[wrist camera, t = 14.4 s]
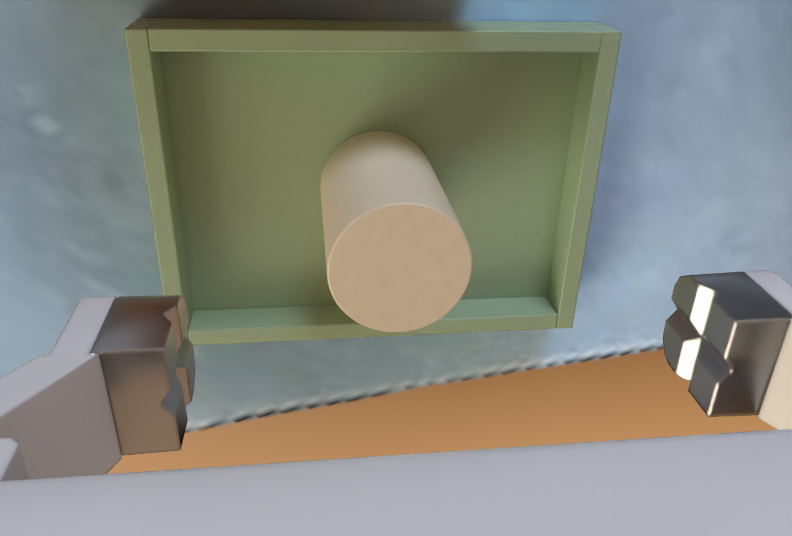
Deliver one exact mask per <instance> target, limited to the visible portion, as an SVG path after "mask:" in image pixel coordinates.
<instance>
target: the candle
mask: <svg viewBox="0 0 792 536" xmlns="http://www.w3.org/2000/svg"><path fill="white" fill-rule="evenodd" d="M320 191H321V204H322V217H323V230H324V243H325V256H326V269H327V280H328V285H329V288H330V291H331V294H332V296H333V298H334V300H335V301H336V303H337V304H338V306H339V307H340V308H341V309H342V311H343V312H345V313H346V314H347V315H348V316H349V317H350V318H352V319H353V320H355V321H356V322H358V323H360V324H362V325H363V326H366V327H369V328H371V329H375V330H379V331H385V332H405V331H411V330H416V329H419V328H422V327H425V326H427V325H429V324H432V323H434V322H435V321H437V320H439V319H440V318H442V317H443V316H444V315H446V314H447V313H448V312H449V311H450V310H451V309H452V308H454V307H455V305H456V304H457V303H458V302H459V300H460V299H461V297H462V296H463V294H464V293H465V290H466V288H467V286H468V284H469V280H470V277H471V272H472V253H471V248H470V245H469V242H468V240H467V238H466V235H465V233H464V231H463V229H462V227H461V225H460V223H459V221H458V219H457V217H456V215H455V213H454V211H453V209H452V207H451V205H450V203H449V201H448V199H447V197H446V195H445V193H444V191H443V189H442V187H441V185H440V183H439V181H438V178H437V176H436V174H435V172H434V170H433V168H432V166H431V164H430V162H429V160H428V158H427V157H426V155H425V154H424V152H423V151H422V150H421V149H420V148H419V147H418V146H417V145H416V144H415V143H414V142H412V141H411V140H409V139H408V138H406V137H404V136H402V135H399V134H396V133H392V132H387V131H371V132H366V133H362V134H359V135H356V136H354V137H352V138H350V139H348V140H347V141H345V142H344V143H342V144H341V145H340V146H339V147H337V148H336V150H335V151H334V152H333V153H332V154H331V156H330V157H329V159H328V160H327V162H326V164H325V166H324V169H323V172H322V176H321V182H320Z"/></svg>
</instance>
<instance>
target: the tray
mask: <svg viewBox="0 0 792 536" xmlns="http://www.w3.org/2000/svg"><path fill="white" fill-rule="evenodd" d="M125 37H126V43H127V50H128V57H129V64H130V71H131V77H132V84H133V91H134V98H135V105H136V111H137V118H138V125H139V132H140V139H141V145H142V152H143V159H144V166H145V173H146V179H147V186H148V193H149V200H150V206H151V213H152V220H153V227H154V234H155V240H156V247H157V254H158V261H159V268H160V274H161V281H162V288H163V295H164V296H169V295H183V296H184V299H185V301H186V305H187V311H188V316H189V322H188V326H187V330H186V334H185V337H186V338H187V339H189V340H190V341H191V342H192V343H193V345H205V344H227V343H248V342H270V341H291V340H313V339H335V338H356V337H378V336H400V335H421V334H443V333H464V332H486V331H508V330H529V329H551V328H572V325H573V319H574V313H575V307H576V301H577V295H578V289H579V283H580V277H581V271H582V265H583V259H584V253H585V247H586V241H587V236H588V230H589V224H590V218H591V212H592V206H593V200H594V194H595V188H596V182H597V176H598V170H599V164H600V158H601V152H602V146H603V140H604V134H605V128H606V122H607V116H608V110H609V105H610V99H611V93H612V87H613V81H614V75H615V69H616V63H617V57H618V51H619V45H620V39H621V31H618V30H616V29H614V28H611V27H609V26H607V25H604V24H602V23H599V22H529V21H403V20H278V19H153V18H139V19H137V20H136V21H134V22H133V23H132V24H130V25H129V26H128V27H127V28H125ZM371 131H387V132H392V133H396V134H399V135H402V136H404V137H406V138H408V139H409V140H411V141H412V142H414V143H415V144H416V145H417V146H418V147H419V148H420V149H421V150H422V151H423V152H424V154H425V155H426V157H427V158H428V160H429V162H430V164H431V166H432V168H433V170H434V172H435V174H436V176H437V178H438V181H439V183H440V185H441V187H442V189H443V191H444V193H445V195H446V197H447V199H448V201H449V203H450V205H451V207H452V209H453V211H454V213H455V215H456V217H457V219H458V221H459V223H460V225H461V227H462V229H463V231H464V233H465V235H466V238H467V240H468V242H469V245H470V248H471V253H472V272H471V277H470V280H469V284H468V286H467V288H466V290H465V293H464V294H463V296H462V297H461V299H460V300H459V302H458V303H457V304H456V305H455V307H454V308H452V309H451V310H450V311H449V312H448V313H447V314H446V315H444V316H443V317H442V318H440V319H439V320H437V321H435V322H434V323H432V324H429V325H427V326H425V327H422V328H419V329H416V330H411V331H405V332H385V331H379V330H375V329H371V328H369V327H366V326H363V325H362V324H360V323H358V322H356V321H355V320H353V319H352V318H350V317H349V316H348V315H347V314H346V313H345V312H343V311H342V309H341V308H340V307H339V306H338V304H337V303H336V301H335V300H334V298H333V296H332V294H331V291H330V288H329V285H328V280H327V269H326V256H325V243H324V230H323V217H322V204H321V191H320V182H321V176H322V172H323V169H324V166H325V164H326V162H327V160H328V159H329V157H330V156H331V154H332V153H333V152H334V151H335V150H336V148H337V147H339V146H340V145H341V144H342V143H344V142H345V141H347V140H348V139H350V138H352V137H354V136H356V135H359V134H362V133H366V132H371Z"/></svg>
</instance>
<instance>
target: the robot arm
mask: <svg viewBox="0 0 792 536" xmlns="http://www.w3.org/2000/svg"><path fill="white" fill-rule="evenodd" d="M672 300H673V302H674V304H675V306H676V307H677V310H676V311H675V312H674V313H673V314H672V315H671V316H670V317H669V318H668V319H667V320H666V324H665V329H664V334H663V345H664V354H665V356H666V359H667V362H668V364H669V366H670V367H671V368H672V370H673V371H674V372H675V374H677V375H679V376H681V377H682V378H684V379H686V380H688V381H690V386H689V389H688V391H689V392H690V394H691V395H692V396H693V398H694V399H695V400H696V402H697V403H698V404H699V406H700V407H701V408H702V409H703V411H704V412H705V413H706V415H707V416H708V417H717V416H745V415H758V418H760V419H762V420H763V421H765V422H766V423H768V424H769V425H771V426H773V427H774V428H776V429H777V430H766V431H753V432H752V431H751V432H736V433H721V434H706V435H692V436H676V437H662V438H647V439H631V440H616V441H601V442H586V443H571V444H556V445H541V446H525V447H510V448H496V449H482V450H481V449H480V450H466V451H451V452H435V453H421V454H405V455H390V456H375V457H361V458H360V457H359V458H344V459H330V460H315V461H299V462H285V463H269V464H254V465H240V466H224V467H209V468H195V469H179V470H164V471H149V472H134V473H119V474H107V473H108V472H109V471H110V470H111V469H112V468H113V467H114V466H115V465H116V464H117V463H118V462H119V461H120V460H121V459H122V455H133V454H143V453H154V452H167V451H178V450H181V446H182V442H183V437H184V433H185V429H186V424H187V414H186V407H185V406H186V405H187V404H189V403H190V402H191V401H192V397H193V391H194V381H195V361H194V351H193V343H192V342H191V341H190V340H189V339H187V338H186V337H185V334H186V330H187V326H188V322H189V316H188V311H187V305H186V301H185V299H184V296H183V295H169V296H124V297H116V296H109V297H93V298H84V299H81V300H80V301H79V302H78V304H77V306H76V307H75V309H74V311H73V313H72V315H71V316H70V318H69V320H68V322H67V324H66V326H65V327H64V329H63V331H62V333H61V335H60V337H59V338H58V340H57V342H56V344H55V346H54V348H53V349H52V351H51V353H50V355H49V356H39V357H37V358H35V359H33V360H32V361H30V362H28V363H26V364H25V365H23V366H21V367H19V368H18V369H16V370H14V371H12V372H10V373H9V374H7V375H5V376H3V377H2V378H0V536H792V286H790V285H789V284H788V283H787V282H786V281H784V280H783V279H782V278H781V277H780V276H778V275H777V274H776V273H775V272H772V271H768V270H758V271H746V272H730V273H715V274H699V275H687V276H680V278H679V279H678V281H677V283H676V284H675V287H674V290H673V294H672Z"/></svg>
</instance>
